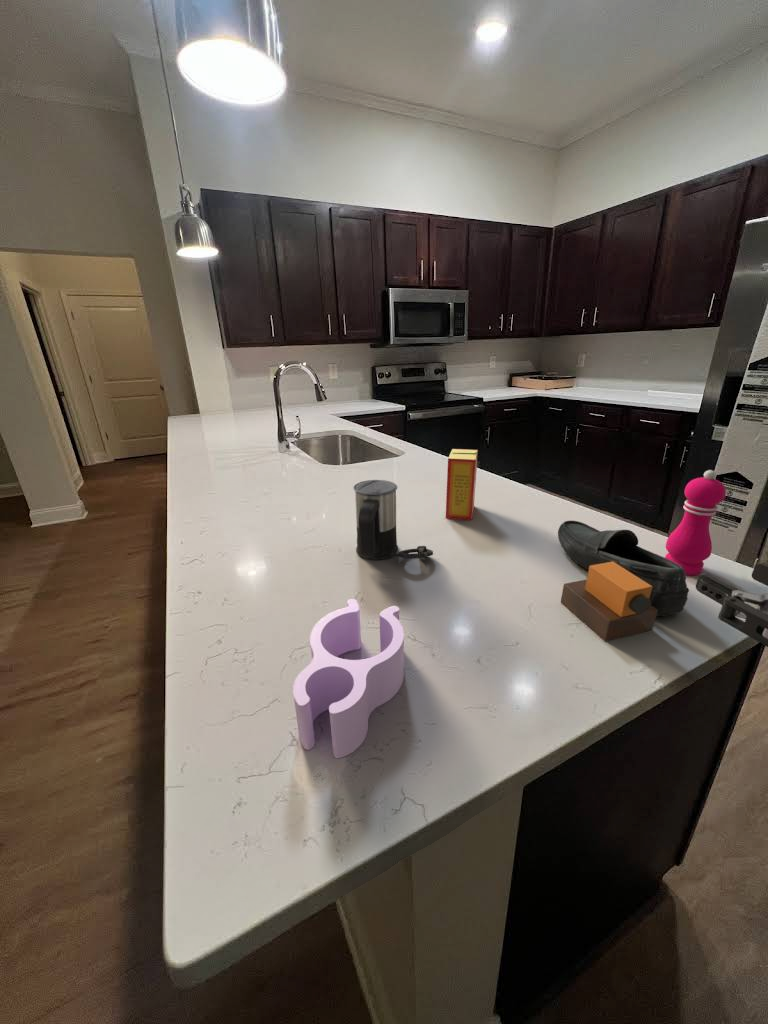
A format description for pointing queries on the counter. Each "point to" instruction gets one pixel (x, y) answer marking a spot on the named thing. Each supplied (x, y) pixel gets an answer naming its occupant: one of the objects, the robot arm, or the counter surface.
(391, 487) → the milk frother
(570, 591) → the box
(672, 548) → the pepper mill
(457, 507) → the baking soda box
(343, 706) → the clip
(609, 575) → the orange square bottle
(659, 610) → the loafer
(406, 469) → the counter surface
